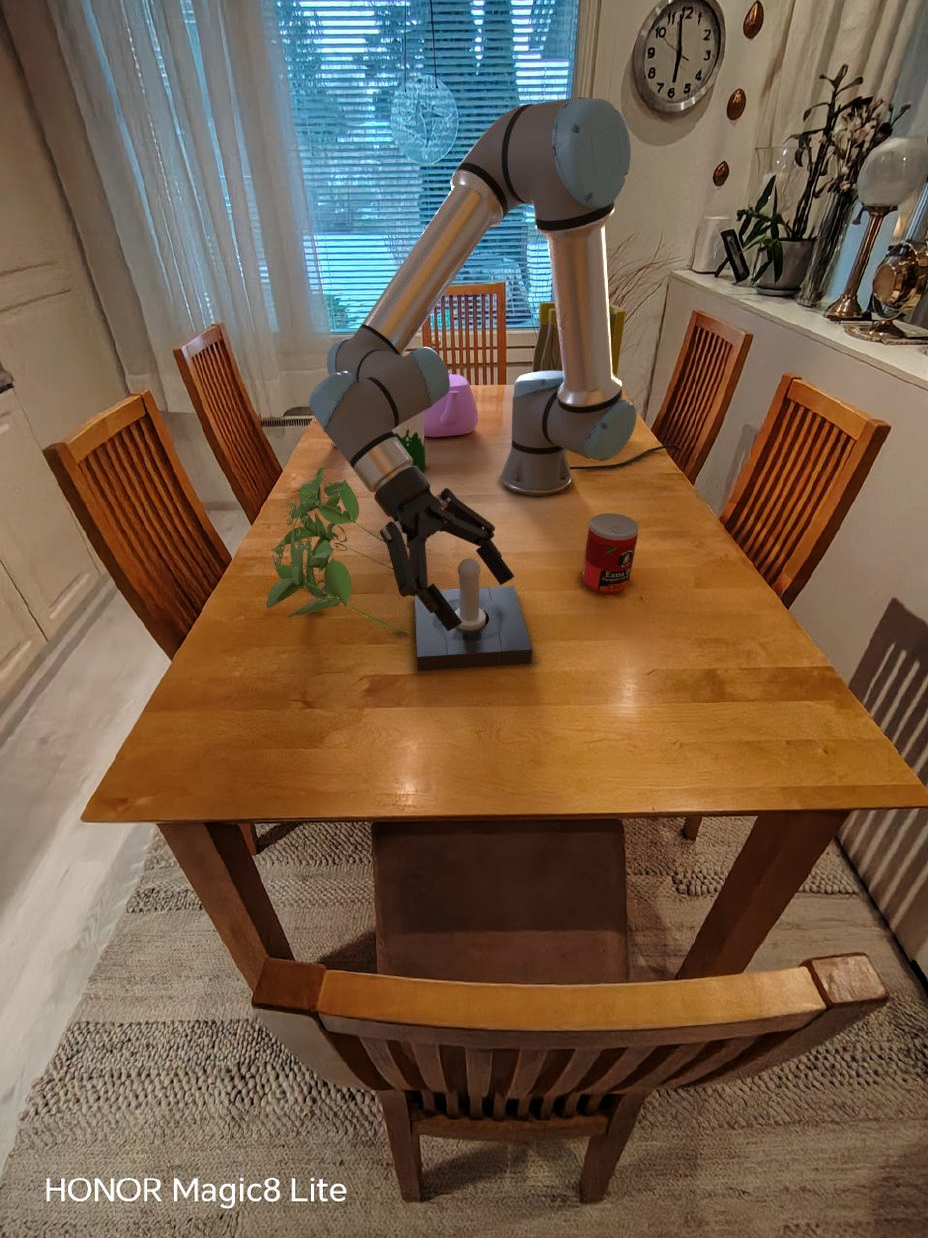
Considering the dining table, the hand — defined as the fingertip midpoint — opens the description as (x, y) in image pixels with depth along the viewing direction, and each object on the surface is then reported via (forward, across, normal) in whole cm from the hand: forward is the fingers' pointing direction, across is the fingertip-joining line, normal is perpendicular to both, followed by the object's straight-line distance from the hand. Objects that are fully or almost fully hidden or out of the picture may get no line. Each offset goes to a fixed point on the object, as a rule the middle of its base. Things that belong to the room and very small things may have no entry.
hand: (482, 602), depth 84 cm
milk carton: (-30, -41, -39) cm, 64 cm away
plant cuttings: (-11, +5, -20) cm, 24 cm away
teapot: (-36, -68, -45) cm, 89 cm away
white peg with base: (+3, 0, -6) cm, 7 cm away
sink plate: (+3, 0, -6) cm, 7 cm away
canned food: (+11, -24, +2) cm, 26 cm away
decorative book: (-16, -87, -25) cm, 92 cm away
